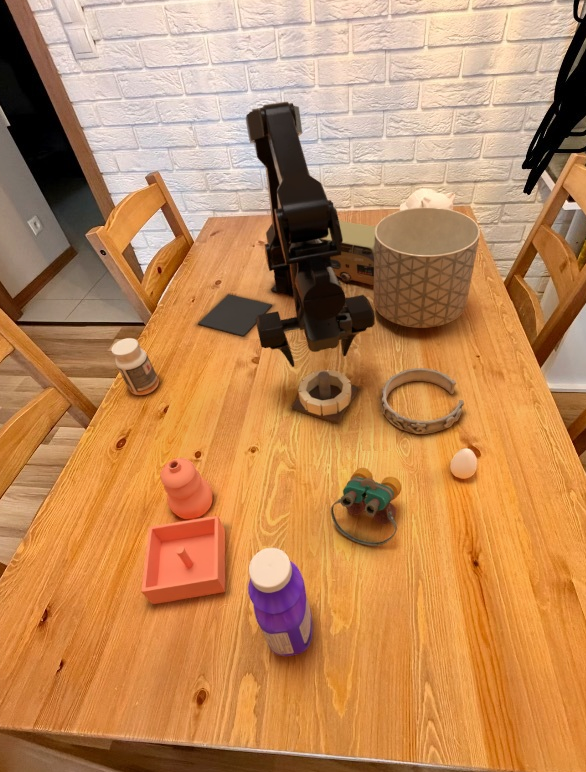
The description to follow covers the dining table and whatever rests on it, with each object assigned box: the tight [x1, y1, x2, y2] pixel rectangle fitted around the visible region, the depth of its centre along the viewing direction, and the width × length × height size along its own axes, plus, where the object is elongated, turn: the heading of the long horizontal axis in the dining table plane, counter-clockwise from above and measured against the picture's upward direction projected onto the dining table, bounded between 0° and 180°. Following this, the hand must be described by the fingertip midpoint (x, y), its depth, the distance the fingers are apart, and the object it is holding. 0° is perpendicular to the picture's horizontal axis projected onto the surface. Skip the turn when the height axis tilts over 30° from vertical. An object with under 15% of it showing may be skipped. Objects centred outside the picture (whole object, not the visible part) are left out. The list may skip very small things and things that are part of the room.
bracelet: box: [381, 367, 465, 435], centre depth 79 cm, size 14×14×3 cm
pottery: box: [141, 457, 226, 605], centre depth 63 cm, size 18×10×10 cm, turn 8°
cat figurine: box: [399, 187, 456, 211], centre depth 109 cm, size 25×10×17 cm, turn 8°
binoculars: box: [330, 467, 402, 547], centre depth 62 cm, size 9×9×10 cm
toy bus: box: [319, 220, 376, 286], centre depth 108 cm, size 10×23×10 cm, turn 58°
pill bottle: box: [111, 337, 160, 396], centre depth 85 cm, size 6×6×10 cm
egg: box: [449, 447, 478, 480], centre depth 68 cm, size 4×4×6 cm
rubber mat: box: [197, 294, 273, 337], centre depth 102 cm, size 12×12×1 cm
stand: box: [291, 371, 360, 425], centre depth 80 cm, size 9×9×6 cm
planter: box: [373, 207, 481, 329], centre depth 91 cm, size 19×19×18 cm
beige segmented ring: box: [297, 368, 352, 416], centre depth 81 cm, size 9×9×2 cm
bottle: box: [247, 547, 314, 657], centre depth 50 cm, size 7×6×17 cm
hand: (318, 360), depth 81 cm, fingers open, 9 cm apart
